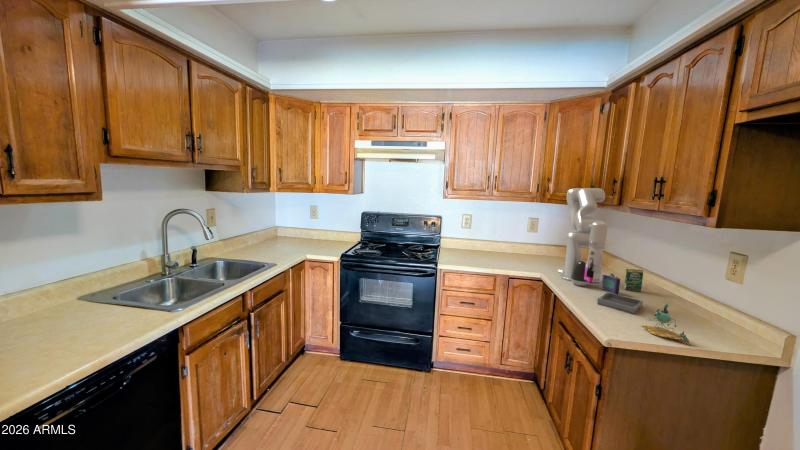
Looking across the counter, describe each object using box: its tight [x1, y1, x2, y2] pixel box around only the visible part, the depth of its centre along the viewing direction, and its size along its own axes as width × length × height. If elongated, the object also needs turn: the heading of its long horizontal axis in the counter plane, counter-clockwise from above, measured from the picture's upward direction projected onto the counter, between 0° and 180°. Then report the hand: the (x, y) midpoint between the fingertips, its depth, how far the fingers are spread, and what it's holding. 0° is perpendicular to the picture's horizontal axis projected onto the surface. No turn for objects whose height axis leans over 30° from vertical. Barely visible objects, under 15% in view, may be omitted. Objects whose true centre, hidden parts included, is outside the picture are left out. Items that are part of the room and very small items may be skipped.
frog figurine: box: [641, 303, 692, 346], centre depth 130 cm, size 10×18×15 cm, turn 13°
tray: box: [597, 291, 644, 315], centre depth 162 cm, size 16×16×3 cm
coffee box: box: [623, 268, 644, 293], centre depth 185 cm, size 8×3×13 cm, turn 66°
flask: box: [600, 272, 621, 295], centre depth 182 cm, size 10×3×12 cm, turn 24°
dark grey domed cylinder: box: [571, 260, 589, 287], centre depth 193 cm, size 10×10×15 cm
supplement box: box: [584, 260, 603, 284], centre depth 171 cm, size 6×6×12 cm
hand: (592, 275), depth 171 cm, fingers closed on supplement box, 8 cm apart
